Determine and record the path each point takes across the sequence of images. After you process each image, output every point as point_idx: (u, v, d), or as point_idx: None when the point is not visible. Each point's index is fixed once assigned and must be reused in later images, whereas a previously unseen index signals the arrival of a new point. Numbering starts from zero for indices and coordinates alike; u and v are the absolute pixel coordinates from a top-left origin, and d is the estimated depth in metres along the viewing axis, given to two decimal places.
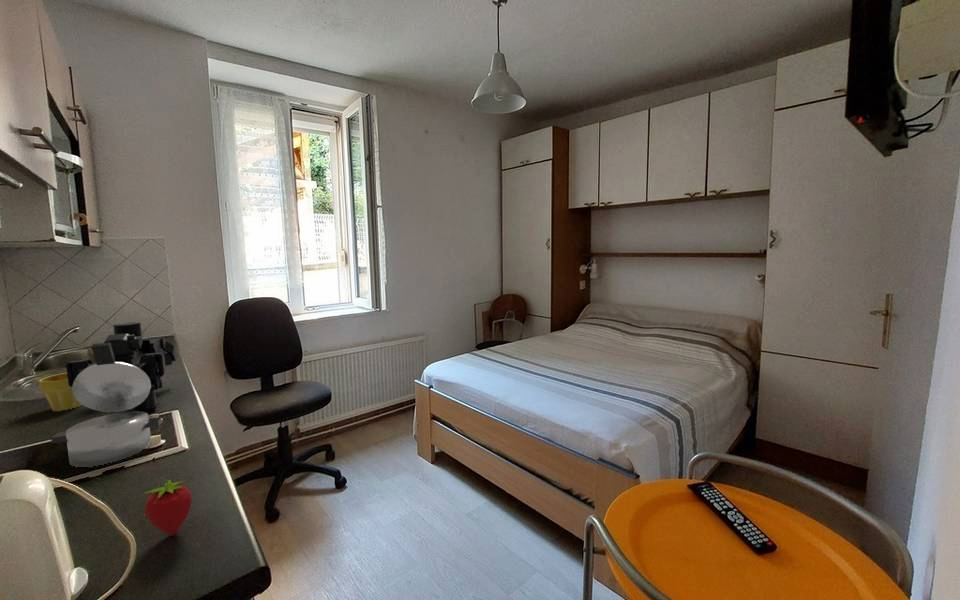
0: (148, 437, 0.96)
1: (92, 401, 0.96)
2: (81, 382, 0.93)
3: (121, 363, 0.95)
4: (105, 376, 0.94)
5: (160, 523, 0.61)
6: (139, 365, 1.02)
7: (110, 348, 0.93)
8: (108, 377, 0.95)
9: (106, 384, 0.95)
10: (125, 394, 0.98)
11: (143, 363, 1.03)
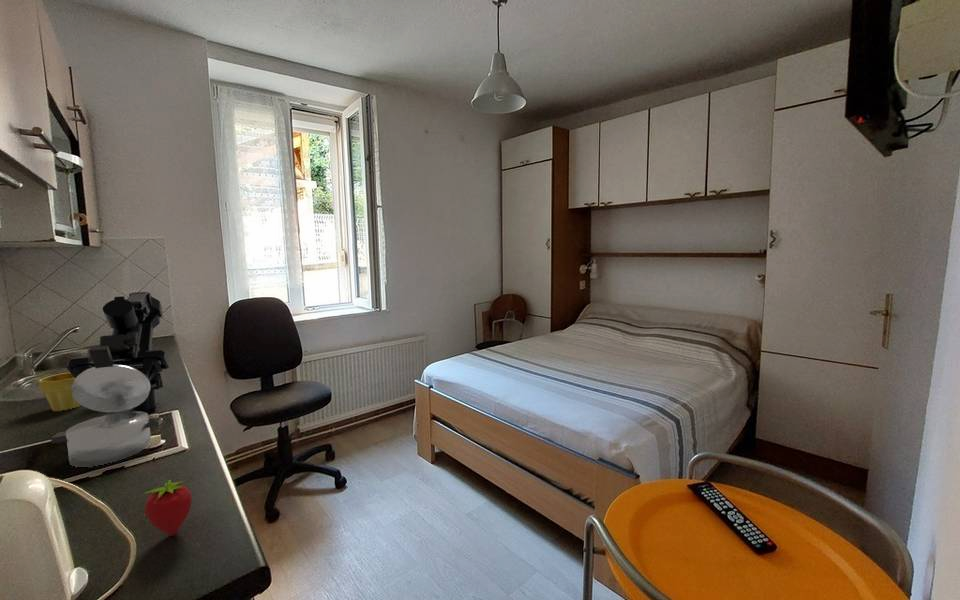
0: (148, 437, 0.96)
1: (92, 402, 0.95)
2: (80, 384, 0.92)
3: (120, 366, 0.94)
4: (104, 379, 0.94)
5: (160, 523, 0.61)
6: (144, 373, 1.01)
7: (108, 352, 0.92)
8: (107, 379, 0.94)
9: (105, 386, 0.95)
10: (125, 395, 0.98)
11: (147, 369, 1.02)
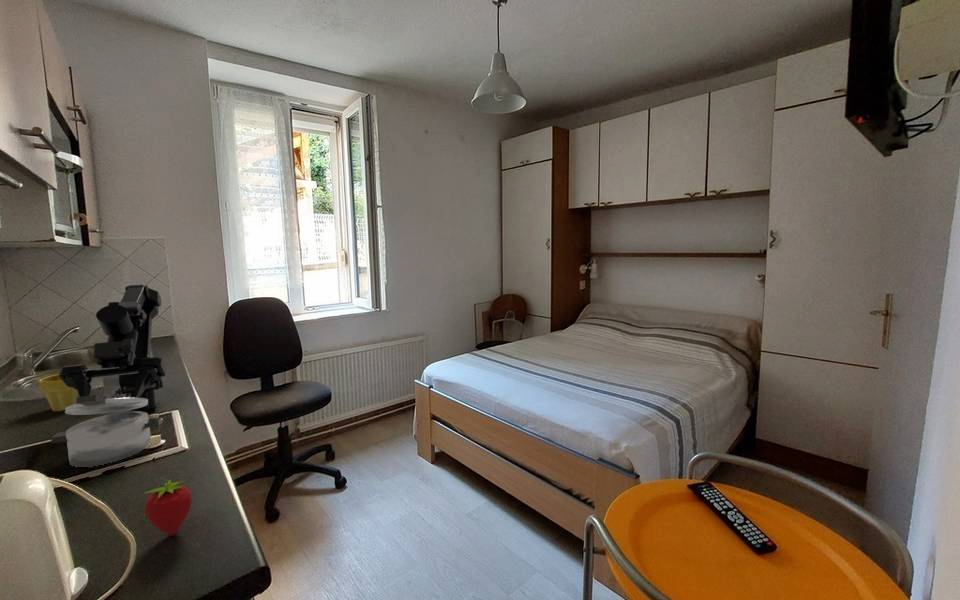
0: (148, 437, 0.96)
1: (89, 413, 0.94)
2: (73, 411, 0.89)
3: (113, 400, 0.89)
4: (98, 407, 0.90)
5: (160, 523, 0.61)
6: (139, 381, 0.98)
7: (98, 399, 0.85)
8: (102, 406, 0.90)
9: (101, 408, 0.92)
10: (123, 407, 0.96)
11: (143, 377, 0.99)
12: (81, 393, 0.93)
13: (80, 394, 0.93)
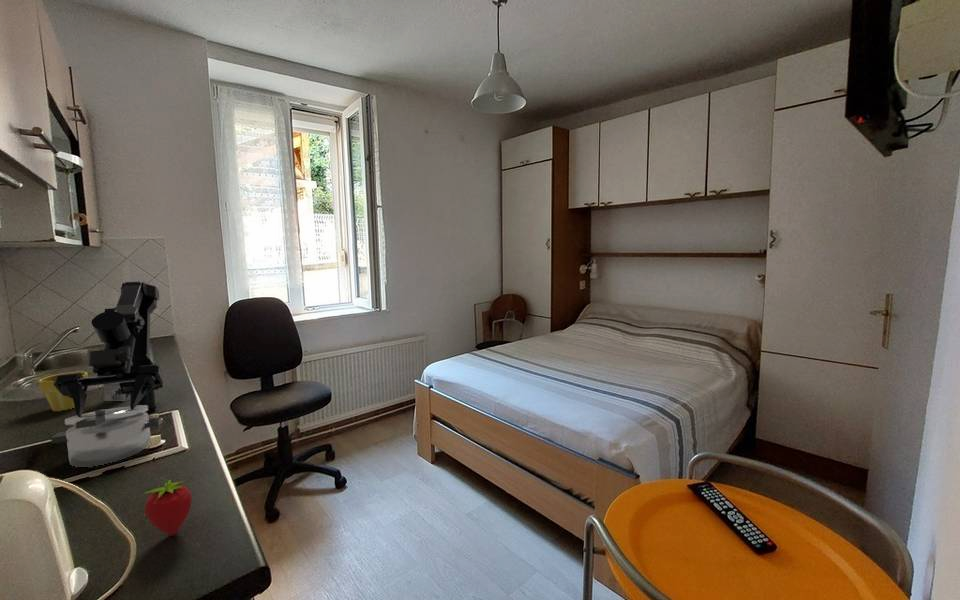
0: (148, 437, 0.96)
1: None
2: None
3: (113, 417, 0.88)
4: None
5: (160, 523, 0.61)
6: (136, 390, 0.96)
7: (97, 422, 0.84)
8: None
9: None
10: None
11: (140, 385, 0.96)
12: (76, 402, 0.90)
13: (75, 403, 0.90)
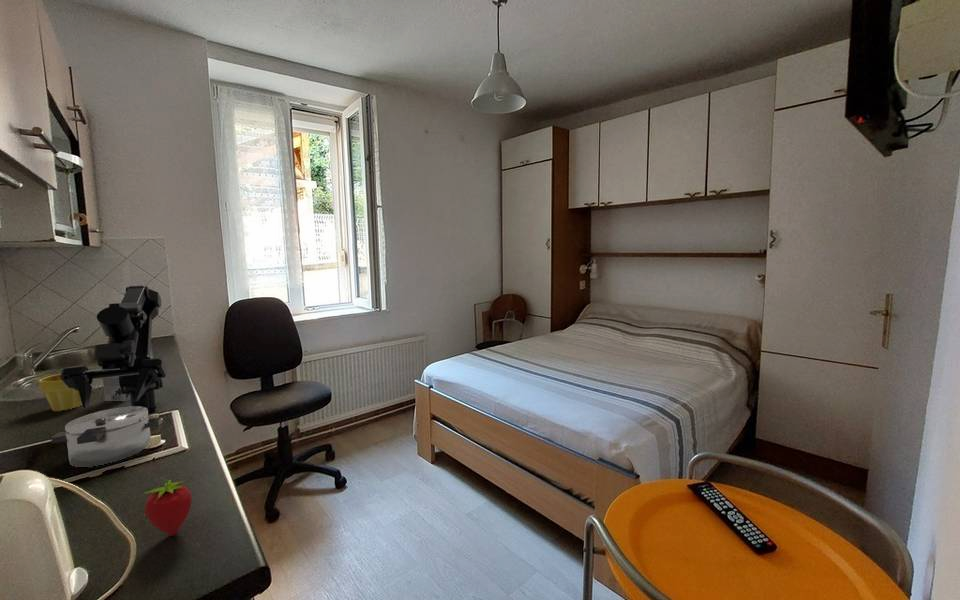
0: (148, 437, 0.96)
1: None
2: None
3: (113, 427, 0.88)
4: None
5: (160, 523, 0.61)
6: (140, 383, 0.98)
7: (98, 436, 0.84)
8: None
9: None
10: None
11: (143, 378, 0.99)
12: (82, 394, 0.93)
13: (81, 395, 0.93)
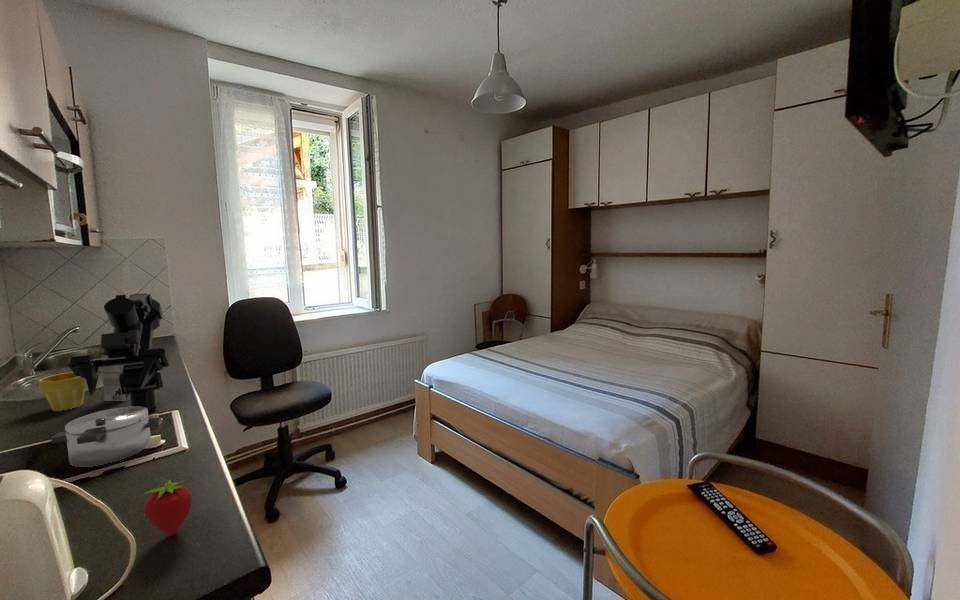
0: (148, 437, 0.96)
1: None
2: None
3: (113, 427, 0.88)
4: None
5: (160, 523, 0.61)
6: (144, 371, 1.02)
7: (98, 436, 0.84)
8: None
9: None
10: None
11: (148, 367, 1.03)
12: (89, 381, 0.97)
13: (88, 382, 0.97)
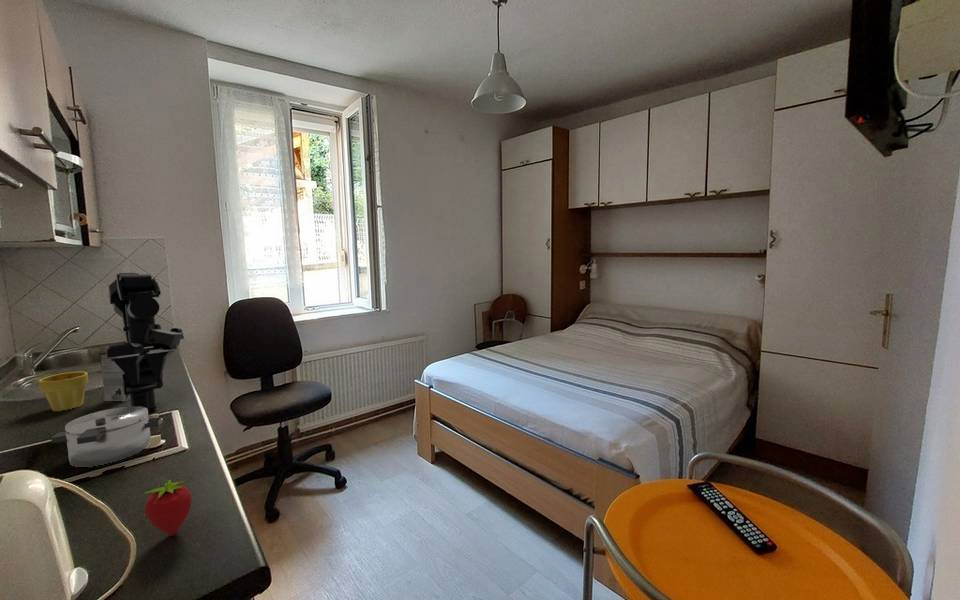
0: (148, 437, 0.96)
1: None
2: None
3: (113, 427, 0.88)
4: None
5: (160, 523, 0.61)
6: (163, 362, 1.12)
7: (98, 436, 0.84)
8: None
9: None
10: None
11: (165, 359, 1.13)
12: (138, 371, 1.02)
13: (137, 372, 1.02)
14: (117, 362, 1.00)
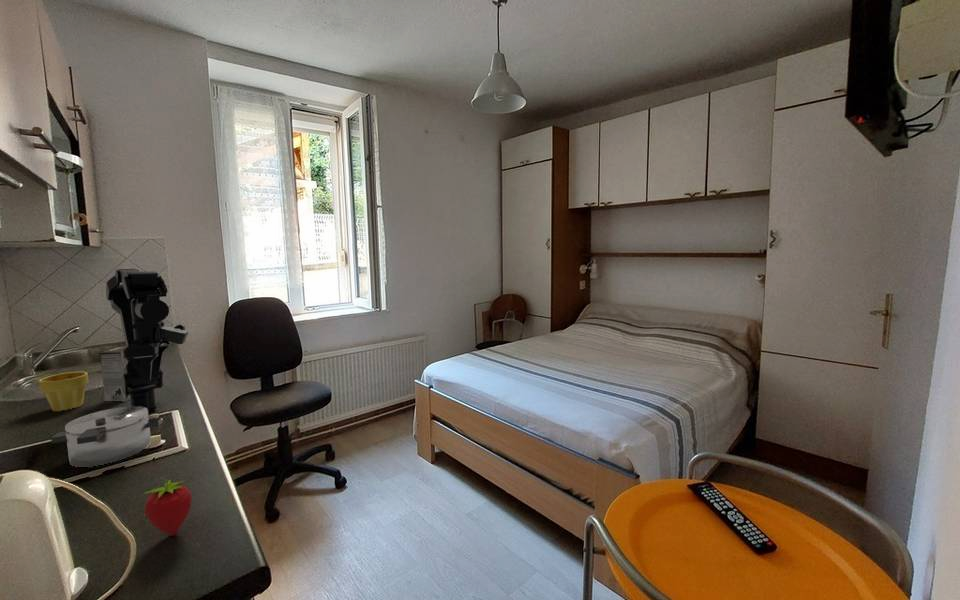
0: (148, 437, 0.96)
1: None
2: None
3: (113, 427, 0.88)
4: None
5: (160, 523, 0.61)
6: (161, 357, 1.14)
7: (98, 436, 0.84)
8: None
9: None
10: None
11: None
12: (151, 370, 1.04)
13: (150, 371, 1.04)
14: (131, 361, 1.01)
